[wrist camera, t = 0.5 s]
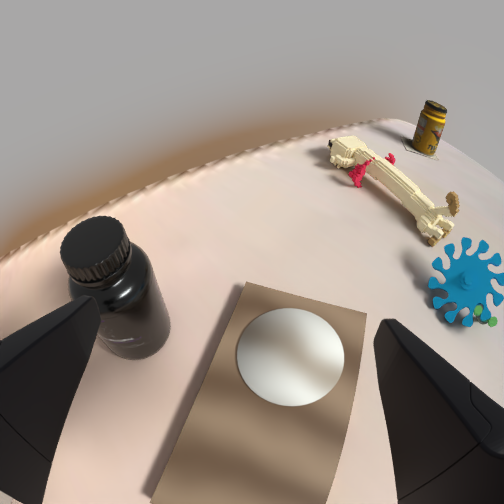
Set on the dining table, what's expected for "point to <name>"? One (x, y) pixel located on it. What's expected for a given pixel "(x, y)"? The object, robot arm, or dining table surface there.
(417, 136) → the condiment
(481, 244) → the blue lumpy piece
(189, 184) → the dining table surface
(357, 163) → the cat figure
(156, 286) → the supplement bottle
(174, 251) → the dining table surface
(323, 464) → the walnut board
